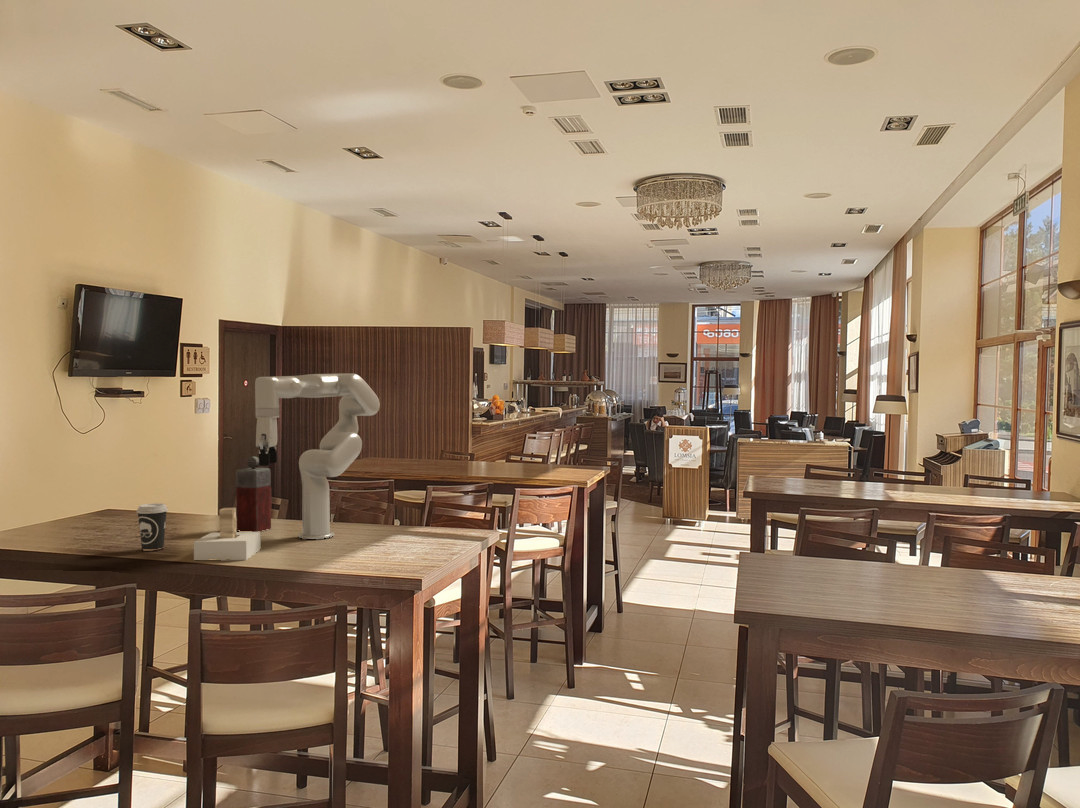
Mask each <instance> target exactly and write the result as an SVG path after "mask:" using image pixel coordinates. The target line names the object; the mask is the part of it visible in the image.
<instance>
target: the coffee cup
mask: <svg viewBox="0 0 1080 808" xmlns="http://www.w3.org/2000/svg"><path fill="white" fill-rule="evenodd" d="M168 511H169V509H168V507H167V506H166V504H165V503H147V504H145V503H144V504H139V505H138V508H137V510H136V512H135V513H136V514H137V516H138V527H139V534H140V535H139V536H140V544H141V550H142V549H158V548H162V547H165V534H166V532H165V531H166V524H167V514H168V513H167V512H168Z"/></svg>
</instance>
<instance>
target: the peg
mask: <svg viewBox="0 0 1080 808" xmlns="http://www.w3.org/2000/svg"><path fill="white" fill-rule="evenodd" d="M219 532H220V539H221V538H236V532H237V507H222V508H221V509H219Z"/></svg>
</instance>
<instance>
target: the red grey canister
mask: <svg viewBox="0 0 1080 808" xmlns="http://www.w3.org/2000/svg"><path fill="white" fill-rule="evenodd" d="M246 465H247V468H240V469H237V470H236V472H235V475H236V477H235V478H236V480H235V481H236V482H235V483H236V484H235V485H236V489H235V493H236V494H235V495H236V499H235V500H236V531H237V530H240V531H252V532H258V531H262V530H265V531H267V530H266V529H269V530H271V529H272V487H271V483H272V482H271V481H272V480H271V469H270V468H269V467H259V456H250V457H248V458H247V460H246ZM270 528H271V529H270ZM262 532H263V531H262Z"/></svg>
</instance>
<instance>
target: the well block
mask: <svg viewBox="0 0 1080 808" xmlns="http://www.w3.org/2000/svg"><path fill="white" fill-rule="evenodd" d="M261 546H262V544H261V532H237V531H236V538H221V539H220V531H219V532H214V531H213V532H212V531H211V532H209V533H208V534H206V535H204V536H202V537H200V538H198V539H197V540H195V541H193V561H194V560H209V559H220V560H221V561H227V560H226V559H230V560H229V561H247V560H248V558H249V559H250V558H251V557H252V555H253V556H254V555H255V554H257V553H258V552H260V551H261V550H260V549H261V548H262V547H261ZM256 552H257V553H256Z"/></svg>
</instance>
